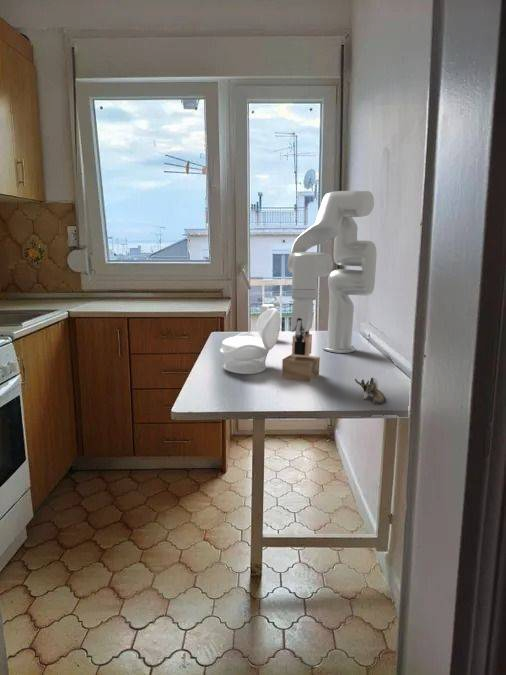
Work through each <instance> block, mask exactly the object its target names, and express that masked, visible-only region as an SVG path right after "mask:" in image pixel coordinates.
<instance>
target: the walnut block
mask: <svg viewBox="0 0 506 675" xmlns="http://www.w3.org/2000/svg"><path fill="white" fill-rule="evenodd" d="M320 360H321V357H320V356H315V355H309V356H308V357H306V356H296V355H292V354H290V355H288V356H286V357H284V358H283V359H282V362H281V378H284V379H289V380H296V381H302V382H308V383H310V382H311V381H312V380H314V379H315V378H317V377H318V376H319V375H320V363H321V362H320Z"/></svg>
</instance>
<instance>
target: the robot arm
mask: <svg viewBox="0 0 506 675" xmlns="http://www.w3.org/2000/svg"><path fill="white" fill-rule="evenodd" d="M374 205H375V199H374V196H373V193H372V192H371V191H369V190H338V191H337V190H336V191H330V192H328V193H325V195H324V196H323V197H322V199H321V202H320V205H319V208H318V211H317V214H316V217H315V219H314V223H313V224H312V225H311V226H310V227H307V229H306V230H305V231H302V233H301V234H300V235H299V236H297V238H296V239H294V242H293V244H292V246H291V248H290V251H289V254H288V258H287V263H286V264H287V271H288V272H289V273H290V274H291V275H292V279H291V280H292V281H291V300H293V301H292V302H293V303H292V309H291V321H290V322H291V323H290V332H292V333H294V332H295V333H294V335H295V351H294V353H295V354H298V355H304V354H305V342H304V341H305V334H310V330H311V329H312V327H313V320H314V318H313V316H314V301H316V300H317V294H318V293H317V292H318V278H319V277H321V278H322V277H327V276H328V277H327V284H328V285H327V286H328V294H329V295H328V296H329V299H328V301H329V302H328V320H327V321H328V322H327V335H326V338H327V340H326V343H325V344H323V346H322V349H323V350H324V351H327V352H330V353H334V354H335V353H336V354H337V353H339V354H348V353H349V354H350V353H353V352H354V353H355V351H356V346H354V345H352V343H353V340H352V339H353V327H354V326H353V325H354V309H355V308H354V302H353V301H352V299H351V298H350V296H363V297H364V296H365V297H366V296H370V295H371V294H373V292H374V290H375V284H376V283H375V282H376V271H377V270H376V268H377V253H378V252H377V247H376V244H375V243H374V242H373V241H370V240H359V239H358V224H357V223H356V221H355V219H354V218H363V217H366V216H369V215H371V214H372V211H373V209H374ZM332 240H333V255H332V256H333V257H332V256H331V254H329V253H326V252H320V251H318V252H317V251H315V252H313V251H308V250H310V249H312V248H313V247H315V246H319V245H322V244H323V243H326V242H329V241H332ZM334 263H335V264H336V265H338V266H344V267H345V266H346V267H361V269H345V268H340V269H339V268H338V269H335V270H333V268H334ZM301 334H303V336H302V335H301Z"/></svg>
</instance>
